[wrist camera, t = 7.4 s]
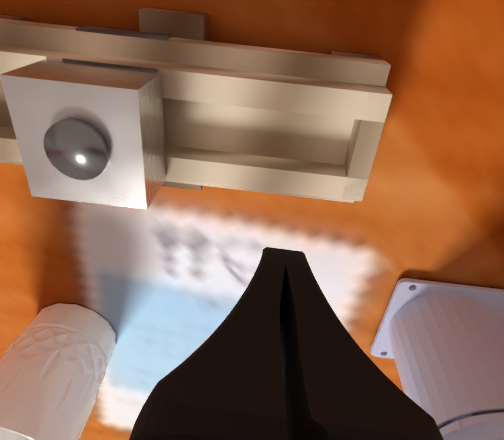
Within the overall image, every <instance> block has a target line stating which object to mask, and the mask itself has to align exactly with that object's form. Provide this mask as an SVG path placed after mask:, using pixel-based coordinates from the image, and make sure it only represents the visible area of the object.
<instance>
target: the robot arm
mask: <svg viewBox="0 0 504 440" xmlns="http://www.w3.org/2000/svg"><path fill="white" fill-rule="evenodd" d="M411 285H414V286H412V287H410V286H411ZM370 352H371V354H372V355H373V356H376V357H383V358H392V359H395V363H396V366H397V370H398V373H399V377H400V380H401V384H402V387H403V391H404V393H403V392H402V391H401V390H400V389H399V388H398V387H397V386H396V385H395V384H394V383H393V382H392V381H391V380H390V379H389V378H387V377H386V376H385V375H384V374H383V373H382V372H381V370H380V369H379V368H378V367H377V366H376V365H375V364H374V363H373V362H372V361H371V360H370V358H369V357H368V356H367V355H366V354H365V353H364V352H363V351H362V349H361V348H360V347H359V346H358V345H357V343H356V342H355V341H354V340H353V338H352V337H351V336H350V334H349V333H348V332H347V330H346V329H345V328H344V326H343V325H342V323H341V322H340V320H339V319H338V317H337V316H336V314H335V313H334V311H333V310H332V308H331V307H330V305H329V303H328V301H327V300H326V298H325V296H324V294H323V293H322V291H321V289H320V287H319V285H318V283H317V281H316V279H315V277H314V275H313V273H312V271H311V269H310V266H309V264H308V262H307V259H306V256H305V254H304V253H303V252H300V251H292V250H285V249H277V248H269V247H266V248H265V249H263V253H262V257H261V260H260V263H259V265H258V268H257V270H256V272H255V274H254V276H253V278H252V280H251V282H250V283H249V285H248V287H247V289H246V290H245V292H244V293H243V295H242V296H241V298H240V299H239V301H238V303H237V304H236V305H235V307H234V308H233V310H232V311H231V312H230V314H229V315H228V316H227V317H226V319H225V320H224V321H223V322H222V324H221V325H220V326H219V327H218V328H217V329H216V330H215V331H214V333H213V334H212V335H211V336H210V337H209V338H208V339H207V340H206V341H205V342H204V343H203V344H202V345H201V346H200V347H199V348H198V349H197V350H196V351H195V352H194V353H193V354H191V355H190V356H189V357H188V358H187V359H186V360H185V361H184V362H183V363H181V364H180V365H179V366H178V367H177V368H175V369H174V370H173V371H171V372H170V373H169V374H168V375H166V376H165V377H164V378H163V379H161V380H160V381H159V382H158V383H157V385H156V386H155V388H154V389H153V391H152V392H151V394H150V395H149V397H148V399H147V400H146V402H145V404H144V406H143V407H142V409H141V411H140V413H139V416H138V418H137V420H136V422H135V424H134V427H133V430H132V433H131V436H130V439H129V440H504V290H503V289H495V288H486V287H478V286H469V285H460V284H452V283H443V282H435V281H426V280H418V279H409V278H403V279H400V280H399V281H398V282H397V284H396V286H395V289H394V291H393V294H392V296H391V299H390V301H389V303H388V306H387V308H386V311H385V313H384V316H383V318H382V321H381V323H380V326H379V328H378V331H377V333H376V336H375V338H374V341H373V343H372V346H371V348H370Z"/></svg>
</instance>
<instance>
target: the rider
mask: <svg viewBox="0 0 504 440" xmlns="http://www.w3.org/2000/svg"><path fill="white" fill-rule="evenodd" d="M0 79H1V83H2V87H3V90H4V94H5V98H6V102H7V105H8V109H9V113H10V117H11V120H12V124H13V128H14V132H15V135H16V139H17V143H18V146H19V150H20V154H21V158H22V161H23V165H24V169H25V173H26V176H27V180H28V184H29V188H30V191H31V195H32V196H34V197H43V198H52V199H60V200H69V201H78V202H86V203H95V204H104V205H112V206H121V207H129V208H138V209H148V207H149V205H150V204H151V202H152V200H153V199H154V197H155V195H156V194H157V192H158V190H159V188H160V187H161V185H162V183H163V182H164V180H165V178H166V174H165V150H164V125H163V101H162V77H161V72H155V71H146V70H137V69H128V68H119V67H110V66H101V65H92V64H83V63H74V62H65V61H56V60H47V59H44V60H41V61H38V62H35V63H32V64H29V65H26V66H23V67H20V68H17V69H14V70H11V71H8V72H5V73H3V74H0Z"/></svg>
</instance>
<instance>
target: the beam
mask: <svg viewBox="0 0 504 440" xmlns="http://www.w3.org/2000/svg"><path fill="white" fill-rule="evenodd" d="M138 14H139V29H140V31H131V30H122V29H113V28H104V27H95V26H82V27H75V26H66V25H57V24H47V23H38V22H29V21H27V18H26V17H19V16H10V15H1V14H0V74H3V73H5V72H8V71H11V70H14V69H17V68H20V67H23V66H26V65H29V64H32V63H35V62H38V61H41V60H44V59H47V60H56V61H65V62H74V63H83V64H92V65H101V66H110V67H119V68H128V69H137V70H146V71H155V72H161V77H162V101H163V125H164V150H165V174H166V178H165V180H164V182H163V183H162V185H161V186H166V187H175V188H183V189H192V190H201V189H202V186H211V187H220V188H228V189H237V190H246V191H255V192H263V193H272V194H281V195H289V196H298V197H307V198H316V199H324V200H333V201H342V202H350V203H353V202H354V201H362V199H363V196H364V192H365V189H366V185H367V182H368V178H369V175H370V171H371V168H372V164H373V161H374V158H375V154H376V151H377V147H378V144H379V140H380V137H381V133H382V130H383V126H384V123H385V120H386V116H387V113H388V109H389V106H390V102H391V99H392V93H391V92H390V91H389V90H388V89H387V88H386V87H385V86H386V82H387V78H388V75H389V71H390V67H391V65H390V64H389V63H387V62H386V61H385V60H384V59H383V58H381V57H380V56H376V55H367V54H358V53H348V52H339V51H331V52H330V54H322V53H313V52H303V51H294V50H285V49H276V48H267V47H258V46H249V45H239V44H230V43H221V42H212V41H208V14H202V13H193V12H183V11H174V10H165V9H156V8H142V9H138ZM0 162H2V163H11V164H19V165H23V161H22V158H21V154H20V150H19V146H18V143H17V139H16V135H15V132H14V128H13V124H12V120H11V117H10V113H9V109H8V105H7V102H6V98H5V94H4V90H3V87H2V83H1V79H0Z"/></svg>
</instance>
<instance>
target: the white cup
mask: <svg viewBox="0 0 504 440" xmlns="http://www.w3.org/2000/svg"><path fill="white" fill-rule="evenodd" d="M115 341H116V334H115V332H114V331H113V329H112V327H111V325H110V324H109V322H108V321H107V320H105V319H104V318H103V317H101V316H100V315H99V314H97V313H96V312H95V311H92V310H90V309H87V308H85V307H82V306H79V305H76V304H64V303H57V304H54V305H51V306H48V307H45V308H43V309H42V310H41V311H40V312H39V313H38V315H37V316H36V317H35V318H34V320H33V321H32V322H31V323H30V325H29V326H28V327H27V328H26V329H25V330H24V331H23V333H22V334H21V335H19V336H18V337H17V338H16V339H15V340H14V342H13V343H12V344H11V345H10V346H9V347H8V348H7V349H6V350H5V352H4V353H3V354H2V355H1V357H0V440H80V438H81V435H82V433H83V430H84V428H85V425H86V423H87V420H88V418H89V415H90V413H91V410H92V408H93V405H94V402H95V400H96V397H97V394H98V391H99V388H100V386H101V384H102V381H103V378H104V375H105V372H106V368H107V365H108V363H109V361H110V358H111V356H112V353H113V351H114V348H115Z"/></svg>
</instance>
